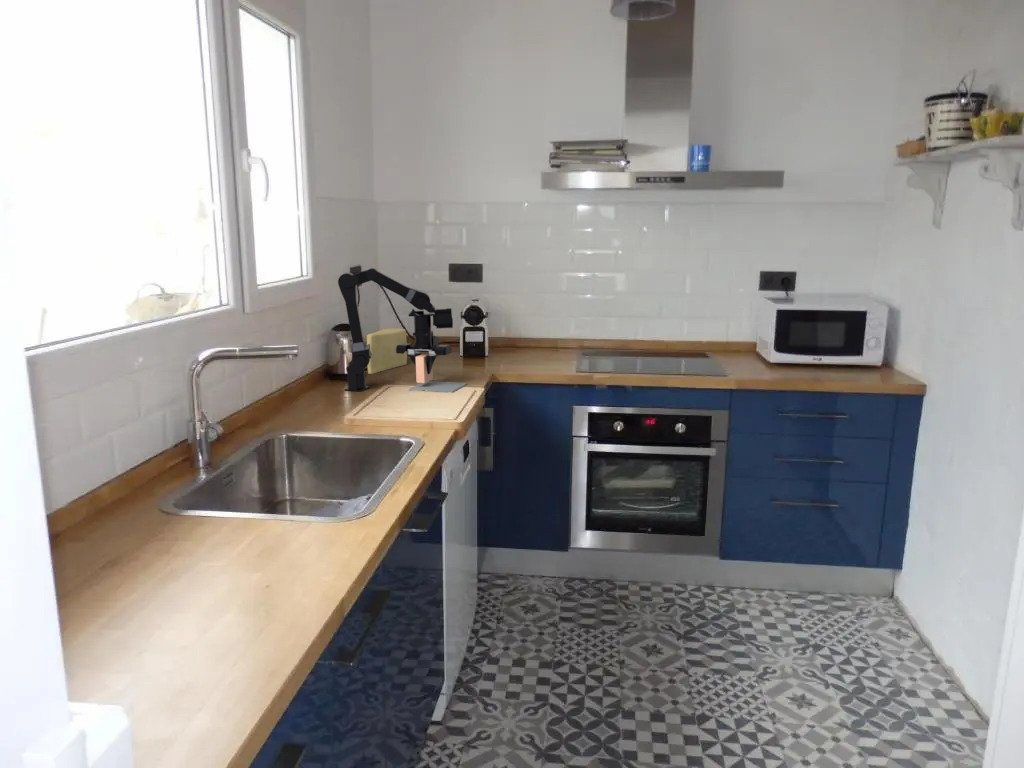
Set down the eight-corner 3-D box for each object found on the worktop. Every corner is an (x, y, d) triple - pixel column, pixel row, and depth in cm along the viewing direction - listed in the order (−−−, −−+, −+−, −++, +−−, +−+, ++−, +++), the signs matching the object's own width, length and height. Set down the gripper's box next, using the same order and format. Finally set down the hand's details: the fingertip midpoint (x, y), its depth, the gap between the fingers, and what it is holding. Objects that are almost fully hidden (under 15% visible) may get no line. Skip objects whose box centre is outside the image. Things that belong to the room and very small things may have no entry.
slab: (424, 383, 257) (423, 357, 256) (416, 382, 258) (415, 356, 257) (432, 379, 264) (432, 353, 262) (425, 378, 265) (424, 353, 263)
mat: (452, 392, 251) (452, 391, 251) (408, 390, 256) (408, 389, 256) (467, 384, 264) (467, 383, 264) (425, 382, 269) (425, 381, 269)
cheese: (380, 375, 284) (378, 335, 281) (358, 373, 287) (355, 334, 284) (408, 364, 304) (406, 327, 301) (387, 363, 308) (385, 327, 304)
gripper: (457, 326, 262) (458, 370, 265) (408, 325, 268) (410, 368, 271) (444, 331, 252) (445, 376, 255) (394, 329, 257) (396, 374, 261)
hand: (424, 373), depth 261 cm, fingers closed on slab, 3 cm apart
